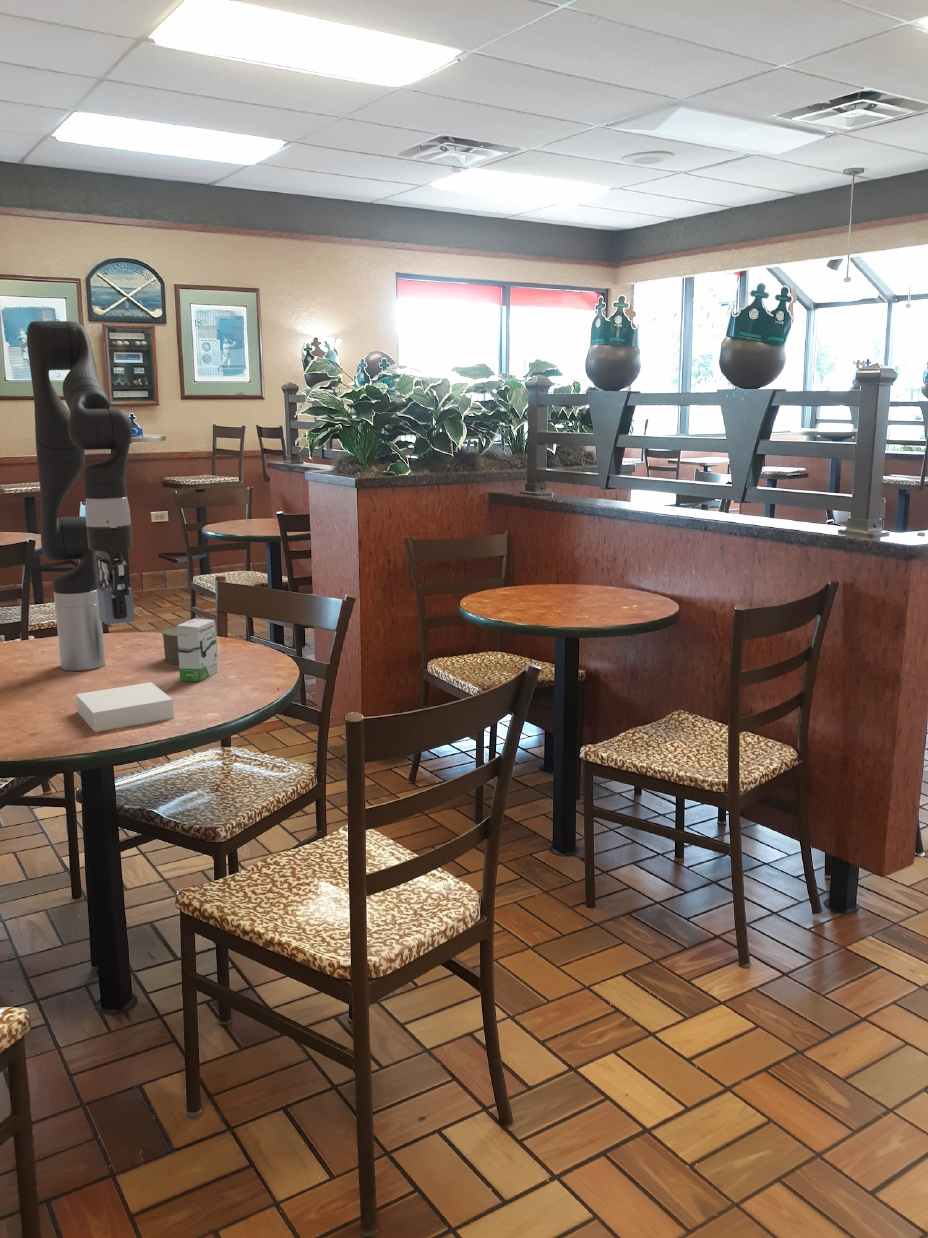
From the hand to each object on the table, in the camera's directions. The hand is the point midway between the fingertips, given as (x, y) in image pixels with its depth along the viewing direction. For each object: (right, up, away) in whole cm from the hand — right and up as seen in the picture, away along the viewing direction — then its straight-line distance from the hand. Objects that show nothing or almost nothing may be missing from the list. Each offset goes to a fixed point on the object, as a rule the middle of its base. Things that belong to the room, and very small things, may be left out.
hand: (116, 615), depth 176 cm
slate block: (0, -1, 0) cm, 1 cm away
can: (+1, -10, +45) cm, 46 cm away
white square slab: (0, -19, +4) cm, 19 cm away
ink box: (+7, -13, +30) cm, 34 cm away
